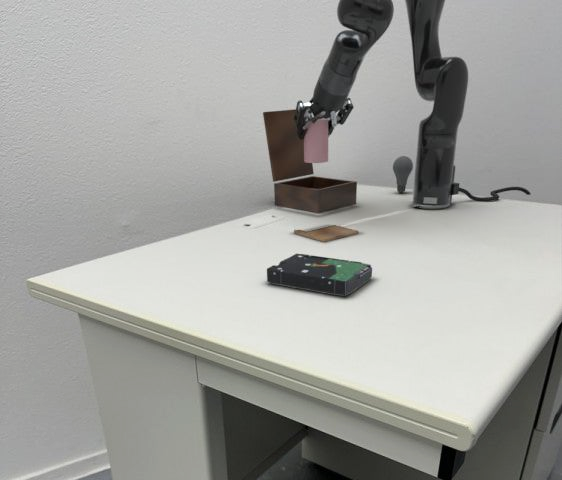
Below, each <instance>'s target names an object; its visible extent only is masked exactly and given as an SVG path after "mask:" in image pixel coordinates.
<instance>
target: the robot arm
mask: <svg viewBox="0 0 562 480" xmlns="http://www.w3.org/2000/svg"><path fill="white" fill-rule="evenodd" d="M404 3H405V7H406V14H407V21H408V28H409V33H410V40H411V50H412V51H411V52H412V62H413V75H414V84H415V88H416V92H417V94H418V96H419V97H420V98H421V99H422V100H423V101H426V102H428V103H429V102H431V103H433V104H432V105H433V107H432V111H431V112H430V114H429V115H428V116H427V117H424V118H423V119H421V120H420V121H419V123H418V131H417V132H418V134H417V145H416V155H415V168H414V180H413V190H412V191H413V194H412V201H411V203H412V205H414V207H415V208H417V209H425V210H438V209H445V208H448V207H450V205H452V202H453V201H452V200H453V196H455V195H459V192H460V193H462V194H464V195H466V197H467V198H468V199H470V200H472V201H476V202H491V201H496V200H499V198H500V195H499V194H500V193H505V192H508V191H509V192H510V191H511V192H512V191H519V192H523V193H524V194H525V195H528V196H530V195H531V194H532V193H531V192H530V191H529V190H528V189H527V188H525V187H522V186H507V187H502V188H499V189H494V190H491V191H490V193H489V194H490V196H488V197H487V196H486V197H485V196H484V197H483V196H482V197H481V196H475V195H473V194H471V192H470V191H469V190H467V189H465V188H463V187H460V182H455V175H456V165H455V158H456V148H457V140H458V132H459V126H460V124H461V122H462V120H463V116H464V111H465V104H466V97H467V94H468V93H467V92H468V85H469V69H468V65H467V63H466V61H465V60H464V59H463V58H462V57H460V56H442V52H441V46H440V37H439V29H440V28H439V27H440V22H441V17H442V14H443V10H444V6H445V4H446V0H404ZM394 7H395V6H394V2H393V0H339V1H338V3H337V7H336V16H337V20H338V22H339V24H340V25H341V27H344V28H347V29H345V30H344V29H343V30H341V31H340V32H338V33H337V35H336V36H335V38H334V41H333V43H332V46H331V49H330V51H329V52H328V53H329V54H328V56H327V58H326V60H325V61H324V64H323V66H322V68H321V71H320V74H319V76H318V79H317V81H316V83H315V86H314V89H313V95H312V98H310V100H309V101H308V102H303V101H302V100H298V101H297V102H296V106H295V109H296V110H295V115H294V121H295V123H296V126H297V128H298V130H297V134H298V137H299V138H300V139H304V137H305V134H306V132H307V128H308V127H309V126H310V125H311V124H314V123H315V122H316V121H317V120H318V119H329V121H328V138H329V137H330V136H331V135H332V133H333V131H334V130H335V127H337V126H338V125H341V126H343V125H344V124H345V123H346V121H347V119H348V118H349V116H350V114H351V113H352V111H353V109H354V107H355V106H354V104H353V102H352V99H351V98H350V97H349V96H350V95H349V94H350V93H351V91H352V88H353V86H354V84H355V82H356V78H357V75H358V73H359V70H360V68H361V66H362V63H363V61H364V59H365V57H366V55H367V54H368V52H370V50H372V48H373V46H375V44H377V42H378V41H379V40H380V39H381V38H382V37H383V35H384V34H385V33H386V32H387V30H388V29H389V27H390V25H391V23H392V20H393V18H394V13H395V9H394ZM307 119H308V121H307V122H306V120H307Z"/></svg>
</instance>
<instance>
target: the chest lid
mask: <svg viewBox="0 0 562 480" xmlns="http://www.w3.org/2000/svg"><path fill="white" fill-rule="evenodd" d="M295 110H296V108H295V109H284V110H272V111H263V112H262V116H263V117H262V118H263V123H264V129H265V136H266V144H267V150H268V156H269V157H268V158H269V164H270V170H271V179H272V182H273V183H276V182H281V181H286V180H292V179H297V178H302V177H307V176H313V175H314V173H315V172H314V166H313V164H314V163H306V162H304V139H300V138H299V137H298V134H297V130H298V128H297V126H296V123H295V121H294V115H295Z"/></svg>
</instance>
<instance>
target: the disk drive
mask: <svg viewBox="0 0 562 480" xmlns="http://www.w3.org/2000/svg"><path fill="white" fill-rule="evenodd" d="M372 277H373V267H372V264H370V263H363V262H362V261H353V260H346V259H339V258H333V257H325V256H318V255H311V254H305V253H295V254H293V255H292V256H289V257H287V258H285V259H283V260H281V261H279V263H278V265H271V266H269V267H267V268H266V281H267V283H271V284H273V285H278V286H284V287H290V288H294V289H302V290H308V291H313V292H317V293H323V294H329V295H335V296H344V297H345V296H348V295H349V294H351V293H353V292H355V291H356V290H357V289H358V288H360V287H361V286H362V285H364V284H365V283H366V282H368V281H370V280H371V278H372Z"/></svg>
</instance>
